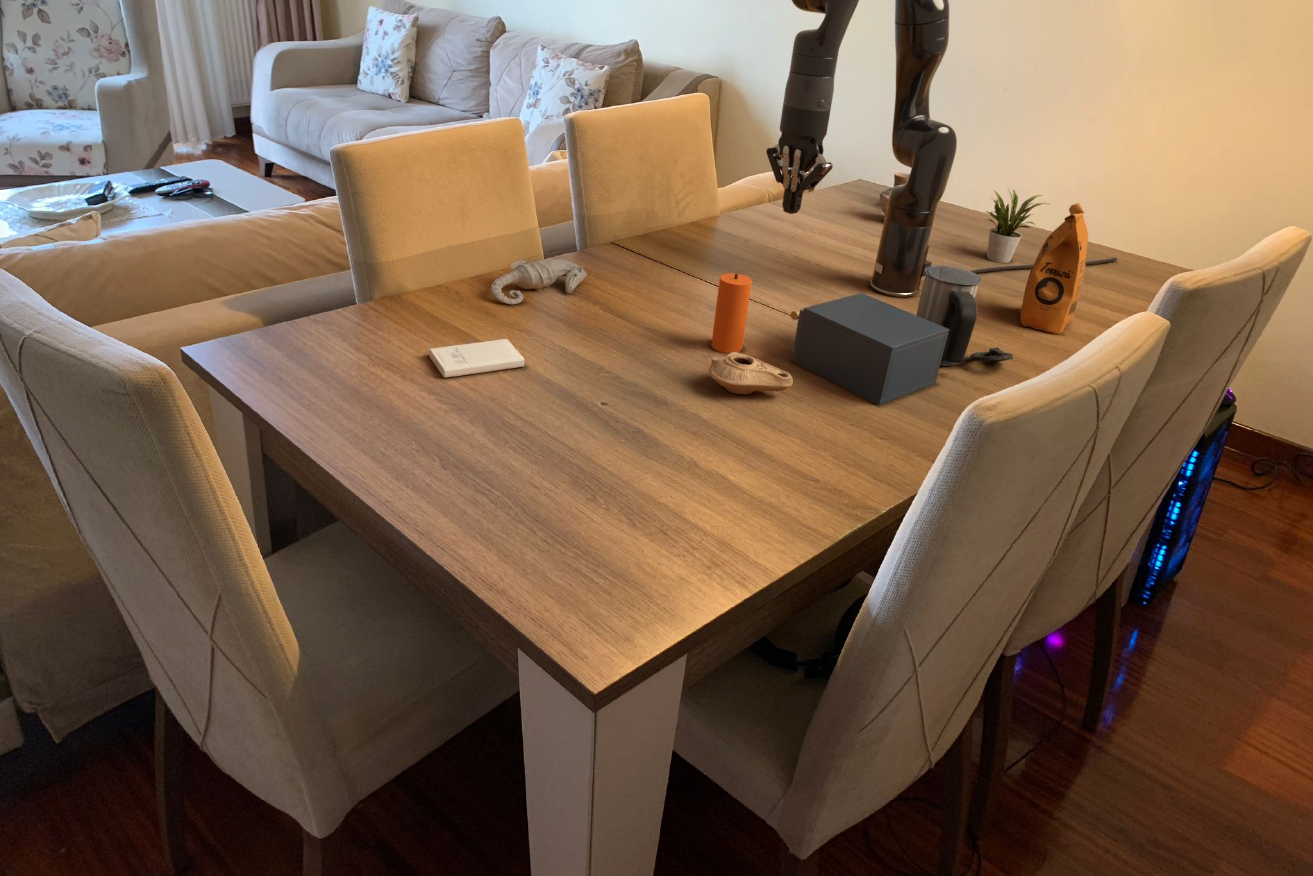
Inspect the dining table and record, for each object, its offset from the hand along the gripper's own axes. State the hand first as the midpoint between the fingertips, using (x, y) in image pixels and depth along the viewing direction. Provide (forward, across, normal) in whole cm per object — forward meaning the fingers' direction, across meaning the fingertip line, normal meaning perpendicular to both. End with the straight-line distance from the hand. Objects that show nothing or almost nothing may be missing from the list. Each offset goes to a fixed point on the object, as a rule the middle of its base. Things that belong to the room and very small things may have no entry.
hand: (790, 212), depth 152 cm
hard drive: (+21, +13, +52) cm, 58 cm away
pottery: (+21, +35, -87) cm, 96 cm away
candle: (+21, -2, +13) cm, 25 cm away
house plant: (+21, +2, -80) cm, 83 cm away
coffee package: (+21, -24, -51) cm, 60 cm away
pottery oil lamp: (+21, -16, +22) cm, 34 cm away
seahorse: (+21, +34, +27) cm, 48 cm away
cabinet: (+21, -21, 0) cm, 30 cm away
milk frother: (+21, -26, -19) cm, 38 cm away
